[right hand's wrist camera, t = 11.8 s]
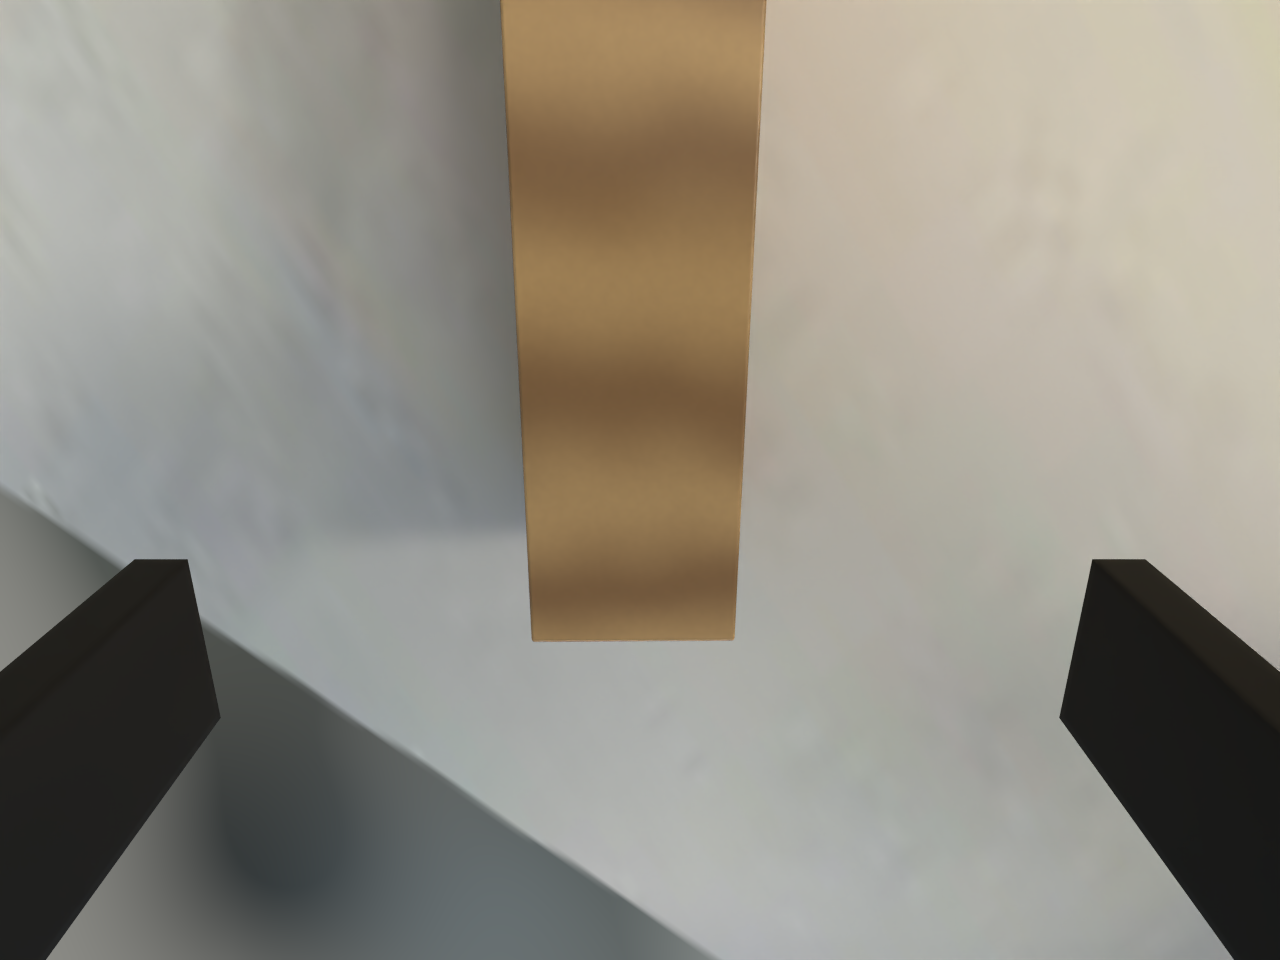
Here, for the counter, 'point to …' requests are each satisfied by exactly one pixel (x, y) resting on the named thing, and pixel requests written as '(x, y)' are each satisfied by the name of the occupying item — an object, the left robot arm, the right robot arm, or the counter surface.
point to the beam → (633, 306)
